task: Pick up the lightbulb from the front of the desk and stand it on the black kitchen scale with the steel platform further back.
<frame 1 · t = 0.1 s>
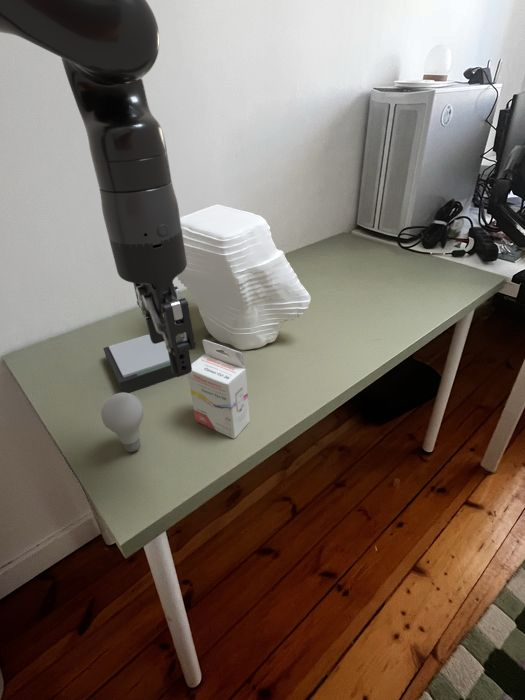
hand: (170, 356, 54), 21 cm above the table, tool pointing down, fingers open, 8 cm apart
ink cartridge box: (222, 423, 74), on the table
scale: (148, 365, 90), on the table
lightbulb: (134, 450, 70), on the table
white layered head sculpture: (238, 336, 98), on the table
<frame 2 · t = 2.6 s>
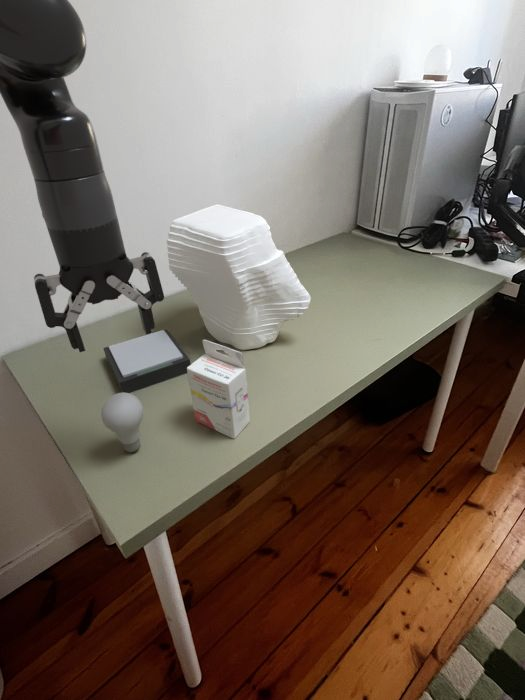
hand: (115, 339, 57), 22 cm above the table, tool pointing down, fingers open, 8 cm apart
nothing on the table moved.
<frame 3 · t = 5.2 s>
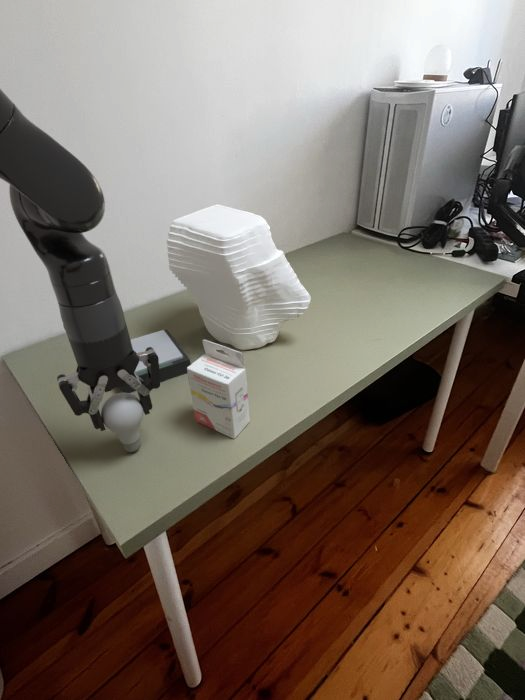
hand: (124, 418, 66), 7 cm above the table, tool pointing down, fingers closed on lightbulb, 6 cm apart
lightbulb: (134, 450, 70), on the table, touching gripper
everything else where it was.
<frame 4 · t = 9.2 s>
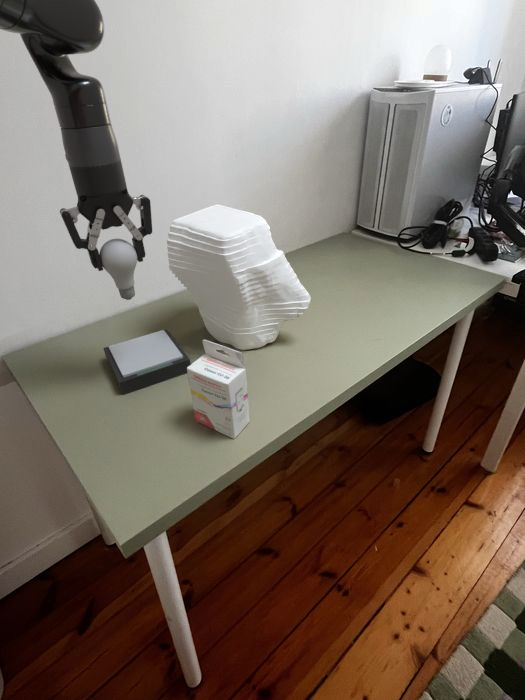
hand: (120, 264, 74), 24 cm above the table, tool pointing down, fingers closed on lightbulb, 6 cm apart
lightbulb: (129, 300, 78), point 17 cm above the table, touching gripper
everything else where it was.
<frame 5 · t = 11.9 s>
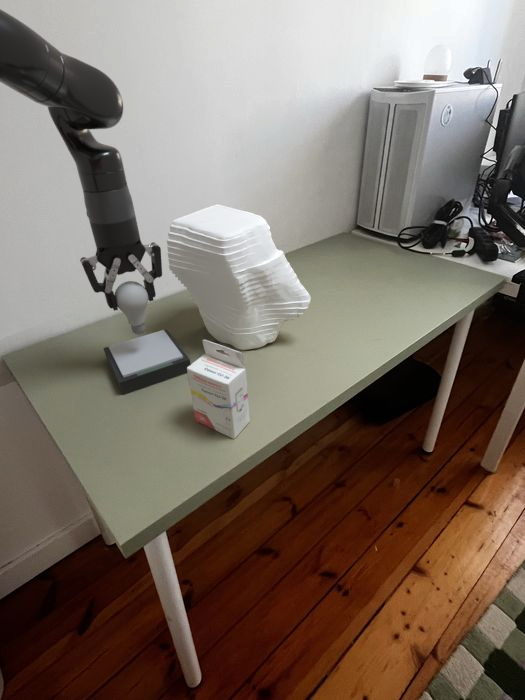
hand: (133, 303, 82), 14 cm above the table, tool pointing down, fingers closed on lightbulb, 6 cm apart
lightbulb: (140, 334, 86), point 8 cm above the table, touching gripper
everything else where it was.
when the fingers open (10 cm above the table, at t = 13.7 s): lightbulb stays where it is, resting on scale.
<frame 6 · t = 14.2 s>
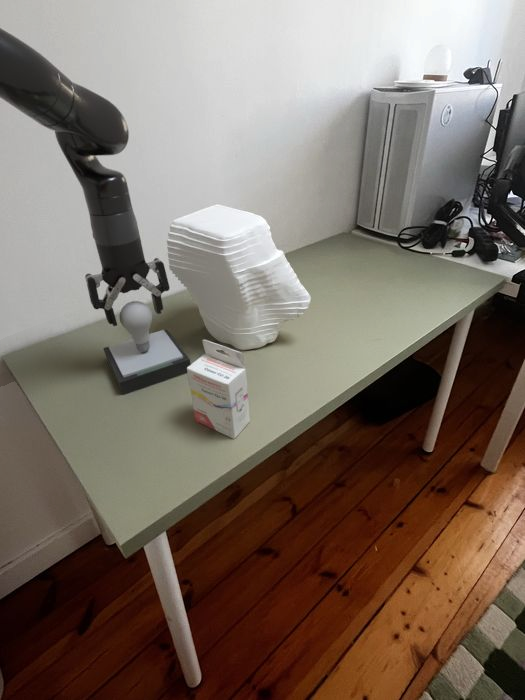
hand: (136, 318, 84), 11 cm above the table, tool pointing down, fingers open, 8 cm apart
lightbulb: (144, 352, 88), point 3 cm above the table, touching scale
everything else where it was.
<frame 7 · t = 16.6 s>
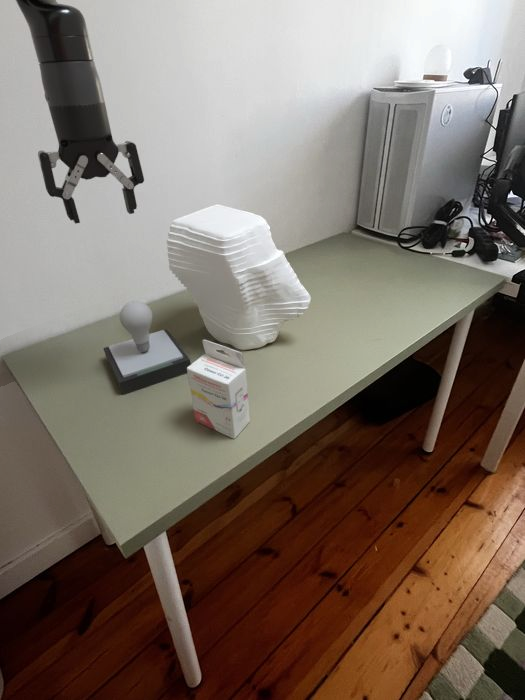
hand: (104, 217, 69), 32 cm above the table, tool pointing down, fingers open, 8 cm apart
nothing on the table moved.
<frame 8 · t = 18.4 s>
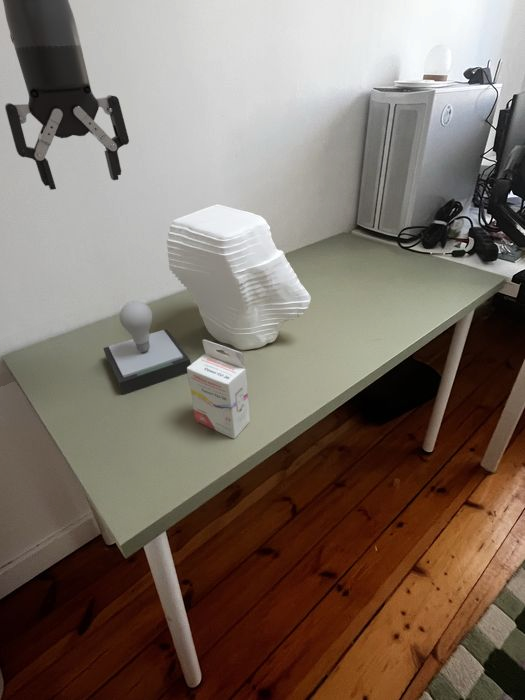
hand: (84, 183, 61), 38 cm above the table, tool pointing down, fingers open, 8 cm apart
nothing on the table moved.
at the end: lightbulb inside the target area on the scale (0.1 cm from its centre), point 3.4 cm above the scale's base; lightbulb tilted 0°; the gripper is holding nothing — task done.
